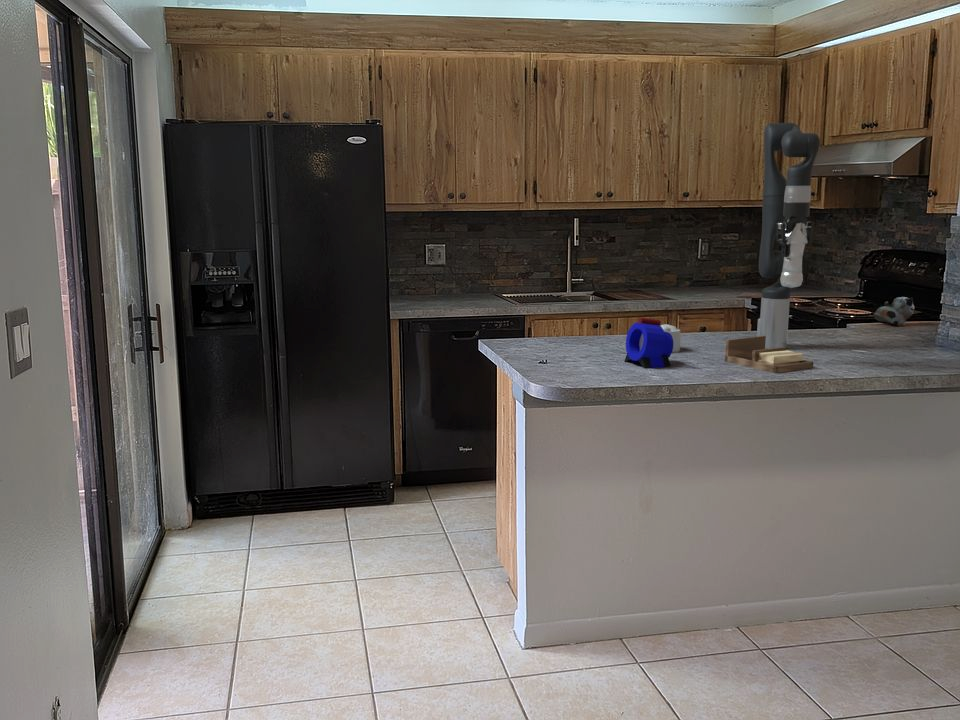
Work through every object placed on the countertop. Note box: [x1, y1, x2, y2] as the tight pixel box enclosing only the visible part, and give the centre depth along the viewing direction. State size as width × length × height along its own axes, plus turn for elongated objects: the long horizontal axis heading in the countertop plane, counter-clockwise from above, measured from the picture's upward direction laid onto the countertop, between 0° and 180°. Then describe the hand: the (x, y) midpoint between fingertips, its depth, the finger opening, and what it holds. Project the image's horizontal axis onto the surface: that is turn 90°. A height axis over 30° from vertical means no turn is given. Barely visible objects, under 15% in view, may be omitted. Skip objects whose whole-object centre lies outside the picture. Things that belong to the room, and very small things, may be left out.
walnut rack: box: [724, 335, 814, 374], centre depth 268 cm, size 20×16×8 cm
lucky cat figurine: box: [872, 296, 916, 327], centre depth 354 cm, size 15×12×14 cm
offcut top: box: [759, 349, 804, 363], centre depth 264 cm, size 6×11×2 cm, turn 113°
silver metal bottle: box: [780, 222, 806, 289], centre depth 270 cm, size 6×7×20 cm
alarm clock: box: [624, 316, 674, 370], centre depth 274 cm, size 12×12×15 cm
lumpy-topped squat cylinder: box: [660, 323, 682, 353], centre depth 298 cm, size 10×13×9 cm
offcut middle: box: [757, 360, 800, 366], centre depth 265 cm, size 6×11×2 cm, turn 118°
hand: (793, 256), depth 270 cm, fingers closed on silver metal bottle, 6 cm apart
